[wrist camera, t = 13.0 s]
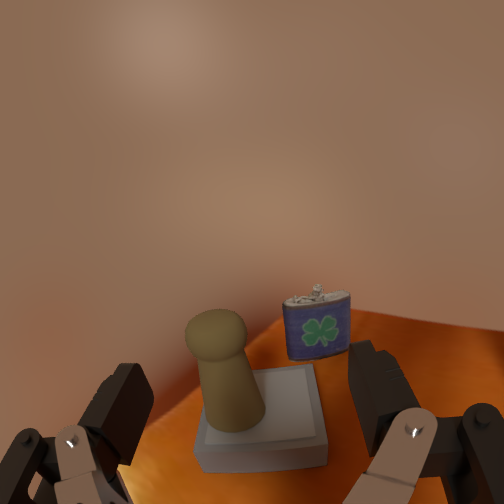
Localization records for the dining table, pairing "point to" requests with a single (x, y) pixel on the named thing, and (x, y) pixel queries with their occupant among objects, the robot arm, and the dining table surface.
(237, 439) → the gray rectangular box
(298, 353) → the flask
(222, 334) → the cork
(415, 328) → the dining table surface
